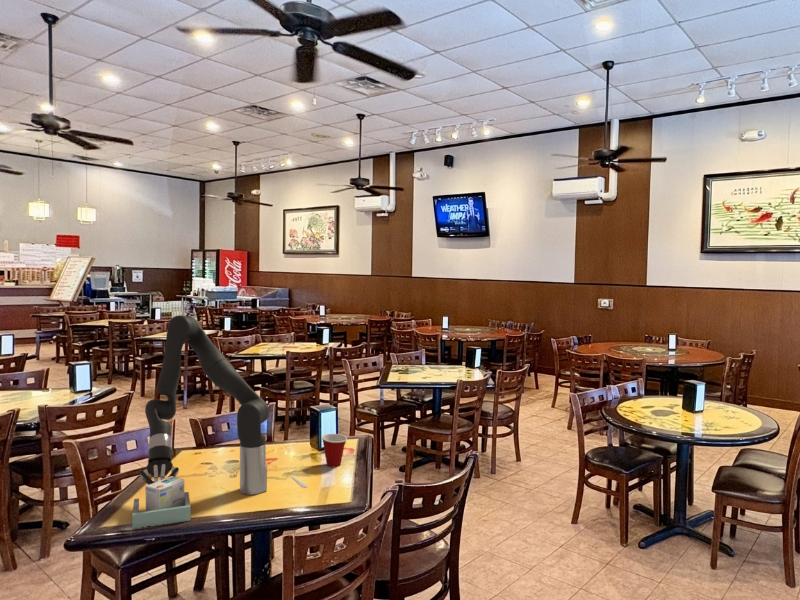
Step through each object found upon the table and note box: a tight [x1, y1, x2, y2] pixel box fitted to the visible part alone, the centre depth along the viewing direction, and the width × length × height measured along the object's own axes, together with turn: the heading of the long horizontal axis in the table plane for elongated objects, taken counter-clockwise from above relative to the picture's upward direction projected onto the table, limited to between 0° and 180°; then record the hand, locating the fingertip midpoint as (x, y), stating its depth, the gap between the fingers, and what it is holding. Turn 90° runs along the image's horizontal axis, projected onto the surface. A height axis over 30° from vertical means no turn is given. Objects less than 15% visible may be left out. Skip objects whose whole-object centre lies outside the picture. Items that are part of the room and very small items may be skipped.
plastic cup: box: [321, 433, 348, 468], centre depth 235 cm, size 11×11×12 cm
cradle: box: [131, 491, 192, 530], centre depth 183 cm, size 17×14×4 cm
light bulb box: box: [145, 476, 185, 511], centre depth 185 cm, size 11×7×11 cm, turn 153°
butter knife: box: [290, 476, 308, 489], centre depth 221 cm, size 1×27×3 cm
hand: (159, 496), depth 187 cm, fingers closed
